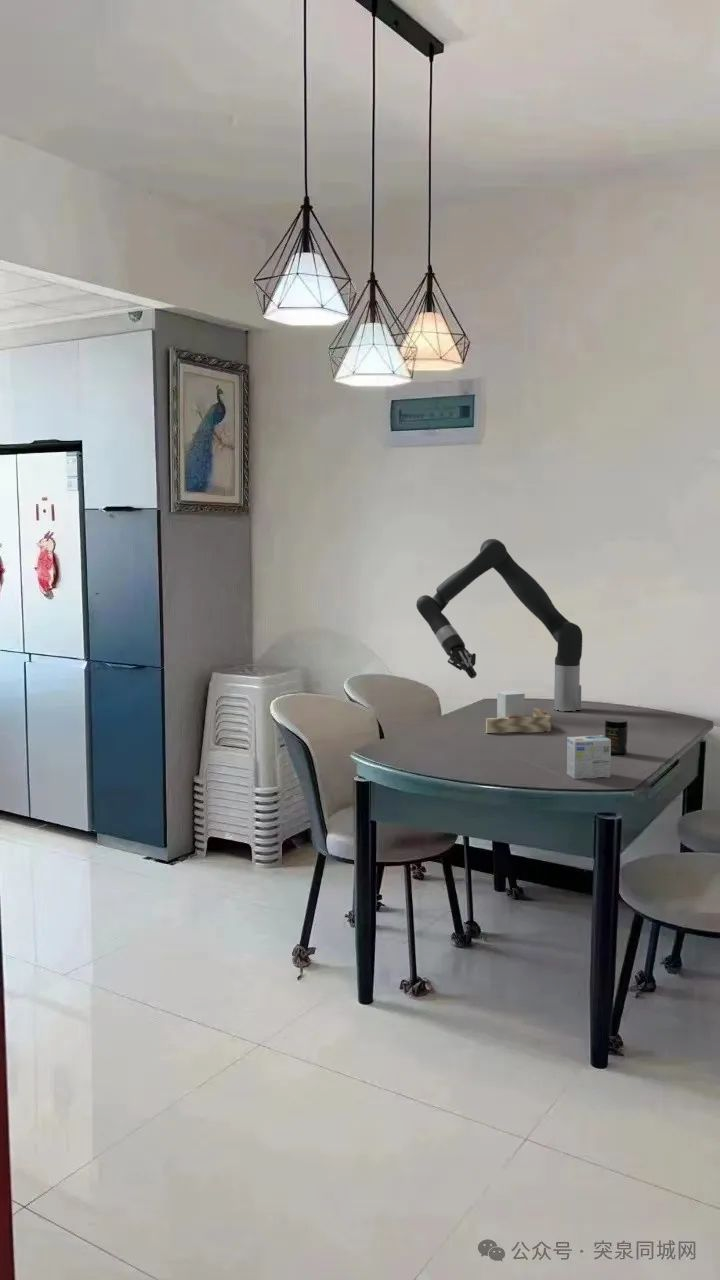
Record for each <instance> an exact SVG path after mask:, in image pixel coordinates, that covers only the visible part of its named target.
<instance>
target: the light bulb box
mask: <svg viewBox="0 0 720 1280" xmlns="http://www.w3.org/2000/svg"><path fill="white" fill-rule="evenodd" d="M566 737H567V738H566V739H567V741H566V744H567V745H566V746H567V747H566V774H567V775H568V776H569V777H571V778H572V779H574V780H579V779H583V778H586V779H598V778H597V777H606V778H611V766H612V765H611V763H612V762H611V761H612V760H611V758H612V757H611V756H612V755H611V740H610V739H608V738H606V737H605V735H602V734H601V735H581V736H566Z"/></svg>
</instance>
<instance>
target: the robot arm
mask: <svg viewBox="0 0 720 1280" xmlns="http://www.w3.org/2000/svg"><path fill="white" fill-rule="evenodd" d="M479 549H480V550H479V553H478V554H477V555H476V556H475V557H474V558H473V559H472V560H470V562H468V563H467V564H466V565H465V566H463V567H461V568H460V569H458V570H456V572H454V573H453V574H451V575H450V576H448V577H447V578H446V579H445V580H444V581H442V583H440V584H439V585H438V586H437V587H436V589H435V590H436V593H435V594H434V596H433V597H432V596H430V595H427V594H426V595H425V594H424V595H421V596H420V597H418V598H417V600H416V609H417V611H418V613H419V614H420V615H421V617H422V618H423V619H424V620H425V622H426V623H427V624H428V626H429V627H430V630H431V631H432V632H433V634H434V635H435V637H436V639H437V641H438V643H439V645H440V646H441V648H442V649H443V650H444V652H445V653H446V655H447V656H449V658H448V660H447V663H448V664H450V665H451V666H453V667H455V669H457V670H459V671H462V670H463V671H464V672H465V673H466V675H468V677H469V679H475V678H476V677H477V675H478V674H477V672H476V670H475V668H474V666H475V665H476V660H477V659H476V656H477V655H476V653H474V652H473V653H470V652H469V650H467V648H466V644H465V642H464V641H463V638H461V636H460V635H459V633H458V631H457V630H456V629H455V627H454V626H453V625H452V623H451V622H450V621H449V619H448V617H446V616H445V614H443V610H444V609H445V608H446V607H447V606H448V604H449V603H450V601H452V600H453V599H454V598H455V597H456V596H458V595H459V594H460V593H461V592H462V591H463V590H465V589H466V588H467V587H468V586H469V585H470V584H472V583H473V582H474V581H475V580H476V579H478V578H479V577H480V576H482V575H483V574H485V573H486V572H488V571H490V570H491V569H492V568H493V569H494V571H496V572H497V573H498V574H499V575H500V576H501V578H502V579H503V580H504V582H505V583H506V584H507V586H508V587H509V589H510V590H511V592H512V593H513V594H514V595H515V596H516V597H517V599H518V600H519V601H520V602H521V603H522V605H523V606H524V607H525V608H526V609H528V611H529V612H531V613H532V614H533V616H534V617H536V618H537V619H538V620H539V621H540V622H541V623H542V624H543V626H544V627H546V629H547V631H548V632H549V633H550V635H551V637H552V638H553V639H554V641H555V642H556V643H557V652H556V656H555V658H554V688H553V689H554V692H553V693H554V695H553V696H554V698H553V701H554V702H553V709H555V710H554V711H557V710H559V711H558V712H564V711H573V712H577V711H576V710H582V685H581V684H580V680H581V679H580V678H581V677H580V674H581V673H580V672H581V659H582V654H583V633H582V629H581V627H580V626H579V625H577V624H576V623H573V622H571V621H569V619H567V618H566V617H565V615H563V614H562V613H560V612H559V611H558V609H557V608H556V607H555V604H554V603H553V601H552V600H551V598H550V596H549V594H548V593H547V591H545V589H544V588H543V586H541V585H540V583H539V582H537V580H536V579H535V578H533V576H532V575H530V573H529V572H527V571H526V570H525V569H524V568H522V567H521V565H519V564H518V563H517V562H516V561H515V560H514V558H513V557H512V556H511V555H510V553H509V552H508V551H507V548H506V546H505V544H504V543H503V542H502V541H500V540H498V539H496V538H488V539H486V540H484V541H483V542H482V543H481V546H480V548H479Z"/></svg>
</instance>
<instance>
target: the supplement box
mask: <svg viewBox="0 0 720 1280" xmlns="http://www.w3.org/2000/svg"><path fill="white" fill-rule="evenodd" d="M496 695H497V696H496V705H497V706H496V718H508V716H523V717H526V716H525V713H526V712H525V707H526V706H525V701H526V699H525V697H526V694H525V693H524V692H521V691H518V690H506V691H497V694H496Z"/></svg>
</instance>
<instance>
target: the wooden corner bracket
mask: <svg viewBox="0 0 720 1280" xmlns="http://www.w3.org/2000/svg"><path fill="white" fill-rule="evenodd" d="M544 731H547V733H548V732H549V731H550V732H551V731H552V716H551V715H550V714H548V712H547V711H545V710H544V709H540V708H538V707H533V708H532V716H524V717H523V716H508V718H497V717H494V718H493V717H492V718H490V717H488V718H487V717H486V718H485V734H486V733H497V734H505V733H504V732H524V733H542V732H544Z"/></svg>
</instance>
